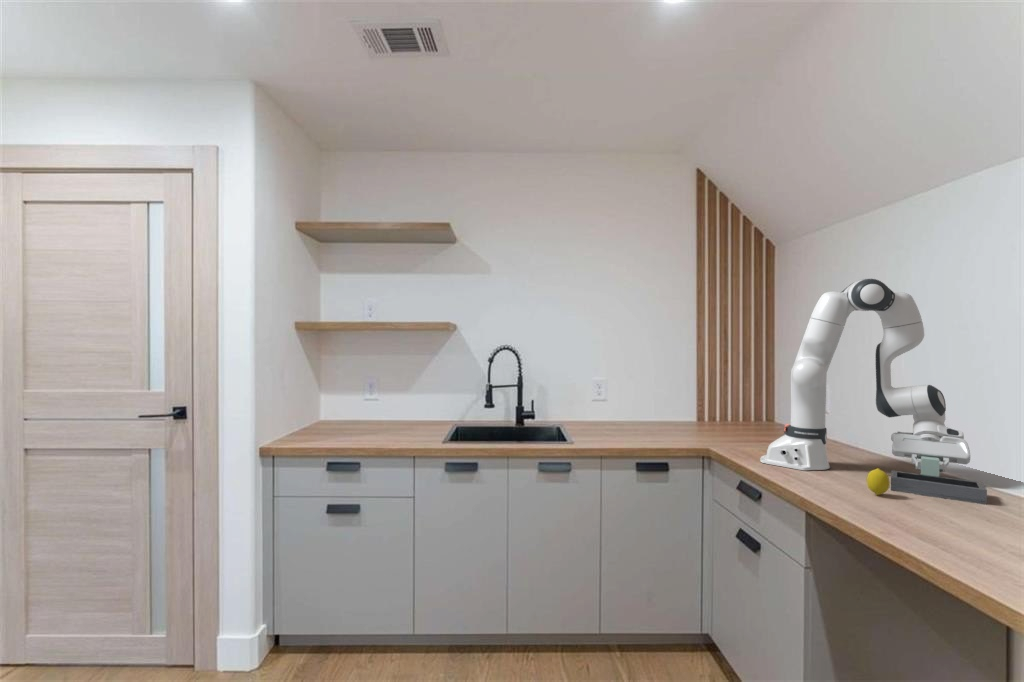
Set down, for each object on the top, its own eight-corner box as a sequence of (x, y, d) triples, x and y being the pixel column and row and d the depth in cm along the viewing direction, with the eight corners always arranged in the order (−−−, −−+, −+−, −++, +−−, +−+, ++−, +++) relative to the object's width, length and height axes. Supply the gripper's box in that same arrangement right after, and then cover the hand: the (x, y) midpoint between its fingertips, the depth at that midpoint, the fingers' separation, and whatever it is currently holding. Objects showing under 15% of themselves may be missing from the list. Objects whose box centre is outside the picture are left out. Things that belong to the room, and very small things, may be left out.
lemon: (867, 491, 161) (868, 465, 161) (889, 495, 157) (890, 468, 157) (865, 495, 156) (865, 468, 156) (888, 499, 153) (888, 471, 153)
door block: (921, 483, 170) (921, 458, 170) (920, 480, 174) (921, 455, 174) (939, 485, 168) (939, 460, 168) (938, 482, 171) (938, 457, 171)
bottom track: (890, 490, 162) (890, 477, 162) (891, 482, 170) (891, 470, 170) (986, 504, 149) (987, 490, 149) (982, 495, 157) (982, 482, 157)
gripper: (891, 425, 182) (890, 459, 175) (969, 432, 170) (972, 469, 162) (891, 436, 186) (890, 470, 178) (967, 444, 174) (970, 480, 166)
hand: (930, 469), depth 170 cm, fingers closed on door block, 4 cm apart
